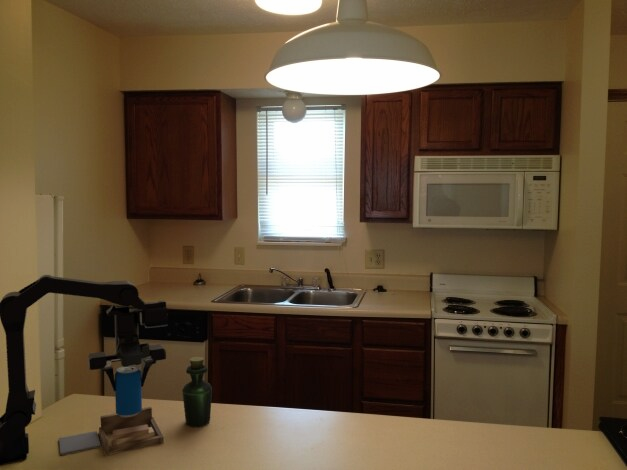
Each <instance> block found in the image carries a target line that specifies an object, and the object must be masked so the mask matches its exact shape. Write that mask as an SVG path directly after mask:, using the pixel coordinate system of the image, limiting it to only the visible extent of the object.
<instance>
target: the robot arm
mask: <svg viewBox="0 0 627 470" xmlns="http://www.w3.org/2000/svg"><path fill="white" fill-rule="evenodd" d="M47 294H59V295H67V296H74V297H84V298H93V299H99V300H102V301H103V300H104V301H106V302H109V303H112V304H111V306H110V307H109V308H108V309H107V310H106V314H107V316H114V336H115V338H114V339H115V341H114V342H115V354H107V355H106V353H105V352H104V351H99V352H98V351H97V352H93V353H89V354H88V355H87V365H88V366H87V367H88V369H89V370H90V371H93V370H94V371H95V370H99V371H100V372H104V373H105V374H106V376H107V378H108V380H109V382H110V384H111V388H112V390H113V392H115V391H116V386H115V374H114V367H113V365H112V363H116V362H120V364H121V367H122V366H123V367H128V366H130V365H135V366H140V371H141V388H143V387H144V384H145V382H146V379H147V375H148V372H149V370H150V368H151V367H152V366H153V365H155V364H157V361H163V360H166V359H167V351H166V349H165V348H164V346H163V345H161V343H160V344H151V345H150V344H149V343H148V342H146V343H141V342H140V340H139V335H140V334H139V321H140V325H141V326H143V325H144V329H150V328H160V327H168V325H169V319H170V318H169V314H168V307H167V301H166V300H158V301H150V302H145V301H144V299H143V298H141V297H139V296H140V295H139V290H138V288H137V286H135V285H134V284H133V283H132V281H128V280H112V281H102V282H99V281H92V280H91V281H90V280H84V279H76V278H69V277H68V278H67V277H60V276H54V275H50V274H43V275H41V276H39V278H38V279H36V280H35V281H34V282H31V283H30V284H28V285H26V286H24V287H22V288H21V289H19V290H18V291H11V292H7V293H6V294H4V296H3V297H2V298H1V300H0V323H1V325H2V328H3V331H4V333H5V345H6V361H7V362H6V363H7V382H8V383H7V384H8V387H7V388H8V392H7V397H6V405H5V410H4V411H5V412H4V413H3V414H2V415H1V416H0V466H1V465H7V464H12V463H16V462H22V461H25V460H27V457H28V455H29V453H30V445H29V444H30V441H29V439H30V438H29V437H30V436H29V433H28V432H26V427H28V426H29V425H30V424H31V422H32V419H33V418H32V417H33V416H35V415H36V409H37V403H36V401H35V396H36V395H35V394H36V389H33V390H29V387H28V385H27V368H26V347H25V346H26V345H25V324H26V319H27V313H28V312H27V311H28V308H29V307H31V306H32V305H34V304H36V303H37V302H38V301H39V300H40V299H42V298H43V297H45V296H46V295H47ZM115 304H116V305H119V306H116V305H115ZM130 307H133V308H130Z"/></svg>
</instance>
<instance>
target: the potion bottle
mask: <svg viewBox="0 0 627 470" xmlns="http://www.w3.org/2000/svg"><path fill="white" fill-rule="evenodd" d="M204 360H205V358H204V357H202V356H193V357H191V358H189V362H190V365H189V366H187V368H186V369H185V370H186V374H188V375H189V376H190V378H191V381H190V382H188V383H186V384H184V387H183V388H182V390H181V392H182V393H181V394H182V400H183V401H182V402H183V411H184V417H185V423H186V425H187V426H189V427H192V428H200V427H204V426H206V425H207V424H209V423H210V421H211V412H212V411H211V408H212V398H213V397H212V396H213V387H212V385H211V383H210V382H207V381H205V380H203V378H204V376H205V375H204V374H205V373H207V372H208V370H209V369H208V367H207V365H206V364H204Z"/></svg>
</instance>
